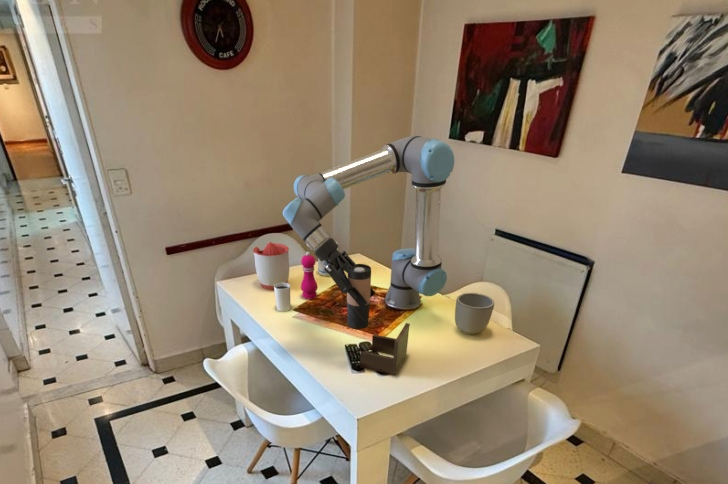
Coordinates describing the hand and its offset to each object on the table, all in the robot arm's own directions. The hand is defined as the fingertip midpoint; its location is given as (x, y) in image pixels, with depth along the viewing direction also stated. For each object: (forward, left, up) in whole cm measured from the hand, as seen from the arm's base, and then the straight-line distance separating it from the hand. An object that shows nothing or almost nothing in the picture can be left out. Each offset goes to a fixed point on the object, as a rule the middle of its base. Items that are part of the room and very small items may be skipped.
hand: (368, 300), depth 150 cm
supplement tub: (-66, -43, -22) cm, 82 cm away
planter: (-33, +31, -22) cm, 50 cm away
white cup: (-23, -45, -22) cm, 55 cm away
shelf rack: (+1, +6, -22) cm, 22 cm away
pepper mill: (-38, -40, -22) cm, 59 cm away
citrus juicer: (-43, -61, -22) cm, 78 cm away
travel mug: (0, -3, -10) cm, 10 cm away
